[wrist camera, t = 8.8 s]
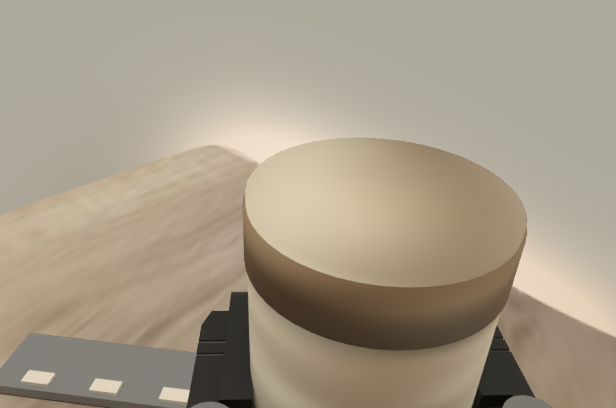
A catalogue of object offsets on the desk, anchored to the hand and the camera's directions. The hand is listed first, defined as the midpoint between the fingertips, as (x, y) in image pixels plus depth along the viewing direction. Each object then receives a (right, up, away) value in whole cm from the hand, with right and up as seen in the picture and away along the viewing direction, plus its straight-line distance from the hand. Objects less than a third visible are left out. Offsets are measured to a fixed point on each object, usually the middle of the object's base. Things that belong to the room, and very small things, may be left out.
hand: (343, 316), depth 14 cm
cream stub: (0, -7, +1) cm, 7 cm away
